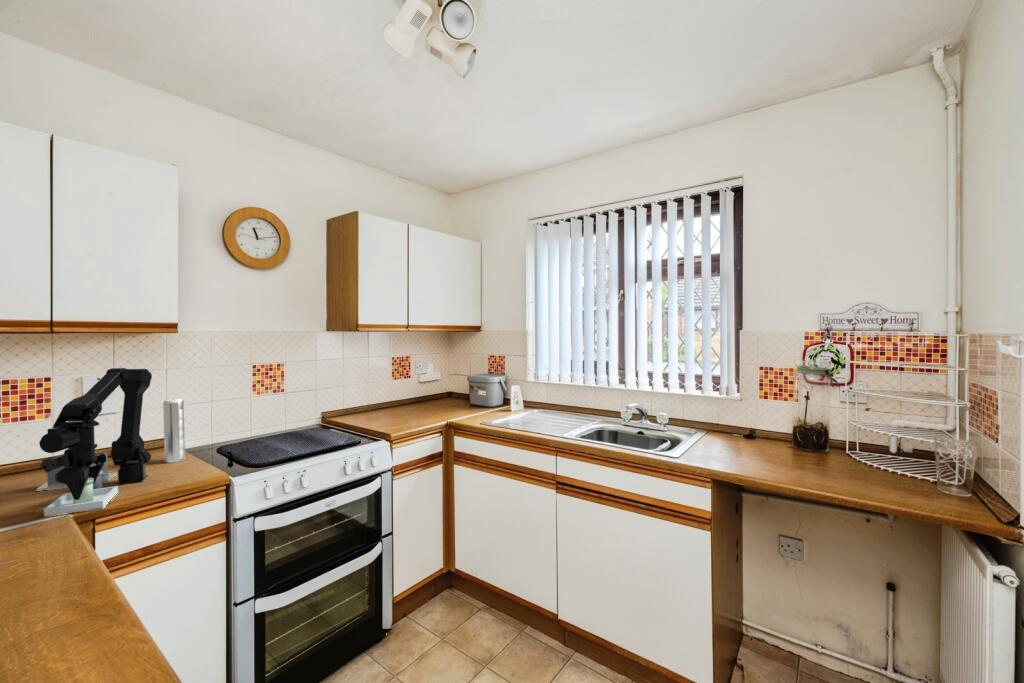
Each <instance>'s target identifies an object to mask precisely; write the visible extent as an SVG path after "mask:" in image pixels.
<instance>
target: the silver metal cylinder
mask: <svg viewBox="0 0 1024 683" xmlns="http://www.w3.org/2000/svg"><path fill="white" fill-rule="evenodd" d="M184 402H185V400H182V398H170V399H169V398H168V399H165V400H163V403H162V407H163V437H164V438H163V440H164V441H163V442H164V463H166V462H167V464H173V462H174V463H179V462H183V461H184V460H186V441H185V440H186V439H185V436H186V435H185V408H184V407H185V406H184Z"/></svg>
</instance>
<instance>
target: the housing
mask: <svg viewBox="0 0 1024 683" xmlns="http://www.w3.org/2000/svg"><path fill="white" fill-rule="evenodd" d="M102 453H103V454H104V455H106V462H104V466H103V467H102V469H101V470H103V474H102V484H105V483H104V482H109V481H110V480H111V479H112V478H113V477H114V476H116V475H117V476H118V471H117V472H116V471H115V472H109V461H108V460H109V459H108V458H109V456H108V452H102ZM99 464H101V463H100V462H99ZM66 468H68V467H66ZM62 469H64V466H62V467H59V468H57V469H54V470H51V471H50V472H48V473H46V475H47V476H46V478H47V481H45V483H43V484H42V485H40V486H38V487H37V488H36V492H37V491H40V492H44V491H43V490H48V491H54V489H56V490H62V489H63V488H64V489H69V488H68V486H67V485H66V484H63V483H59V482H57V481H55V474H57V473H58V472H59V471H60V470H62ZM117 476H116V477H117ZM114 478H115V477H114ZM114 478H113V479H114ZM113 479H112V480H113ZM112 480H111V481H112ZM111 481H110V482H111ZM110 482H109V483H110ZM64 489H63V490H64Z"/></svg>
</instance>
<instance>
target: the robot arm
mask: <svg viewBox="0 0 1024 683" xmlns="http://www.w3.org/2000/svg"><path fill="white" fill-rule="evenodd" d="M152 376H153V375H152V373H151V372H150V371H149V370H148V369H147V368H126V367H113V368H108V369H107V370H106V373H105V375H103V376H102V377H101V379H99V380H98V381H97V382H96V383H95V384H94V385H93V386H92V387H91V388H90V389H89V390H88V391H87V392H86V393H84V394H83V395H81V396H78V397H76V398H73V399H72V400H70V401H69V402H68V403H66V404H65V405H64V406H63V407H62V409H61V410H60V413H59V414H58V416H57V418H56V420H55V422H54V423H53V425H52V427H51V428H48V429H47V433H45V434H44V435H43V436H42V437H41V438H40V440H39V442H38V443H39V448H40V449H41V450H42V451H43V452H45V453H47V454H54V453H57V452H61V451H63V453H62V454H59V455H57V456H54V457H52V456H49V457H48V458H44V459H42V460H41V463H40V464H39V466H40V467H39V470H43V471H44V473H45V474H47V473H48V472H50V471H51V470H54V469H57V468H59V467H62V466H64V469H62V470H60V471H59V472H58V473H57V474H55V481H57V482H59V483H63V484H66V485H67V486H68V488H67V489H68V490H69V493H70V492H71V494H72V496H73V498H74V500H79V499H80V497H81V495H82V492H83V490H84V487H85V485H86V482H87V480H88V478H94V482H93V485H94V483H95V481H96V479H97V477H98V475H99V473H100V471H101V469H102V467H103V466H104V462H106V455H104V454H103V453H104V452H102V453H101V452H100V453H96V448H98V444H97V443H96V441H95V427H97V426H99V425H100V422H98V421H96V420H95V419H96V418H98V416H99V414H100V413H101V411H103V407H102V406H103V405H102V404H103V403H104V402H105V401H106V400H107V398H109V396H110V395H111V394H112V393H114V391H115V390H116V389H117V388H119V387H120V389H121V390H122V392H123V393H124V397H123V406H122V407H123V408H122V418H121V428H120V436H118V438H117V439H116V440H113V441H112V442H111V450H110V457H111V459H112V462H113V465H114V467H116V466H119V469H118V470H117V477H118V478H117V479H118V480H117V481H118V485H126V484H125V483H127V484H133V482H135V483H141V481H142V482H143V481H144V480H146V478H147V477H148V475H147V474H146V473H147V472H146V464H148V463H149V462H150V461H151V458H152V454H151V453H150V452H149V451H148V450H147V449H146V448H145V441H144V440H143V438H142V437H141V435H140V430H141V422H142V420H141V419H142V410H143V409H142V408H143V399H144V398H143V397H144V393H145V392H146V391H147V390H148V389H149V387H150V385H151V381H152V378H153V377H152ZM99 462H100V463H101V464H99ZM66 467H68V468H66Z"/></svg>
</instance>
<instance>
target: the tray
mask: <svg viewBox="0 0 1024 683" xmlns="http://www.w3.org/2000/svg"><path fill="white" fill-rule="evenodd" d="M117 493H118V494H119V486H118V485H116V486H110V487H109V486H108V487H102V488H100V489H93V502H86V503H79V504H73V496H72V494H71V492H70V491H69V492H64V493H63V494H62V495H61V496H59V497H58V498H57V499H55V500H54V501H53V502H51V504H49V505H48V506H46V507H45V508H43V517H44V516H48V515H53V514H59V513H72V512H77V511H87V512H93V511H100V510H104V509H105V508H106V507H107V506H108V505H109V504H108V502H109V501H110V500H111V499H112V498H113V497H114V496H115V495H116V494H117ZM118 494H117V495H118ZM117 495H116V496H117ZM116 496H115V497H116ZM115 497H114V498H115ZM114 498H113V499H114ZM113 499H112V500H113ZM112 500H111V501H112ZM107 504H108V505H107ZM106 505H107V506H106ZM88 510H89V511H88Z"/></svg>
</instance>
